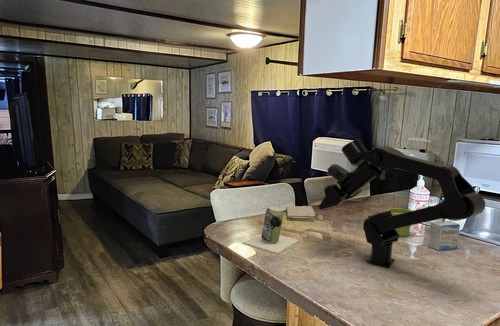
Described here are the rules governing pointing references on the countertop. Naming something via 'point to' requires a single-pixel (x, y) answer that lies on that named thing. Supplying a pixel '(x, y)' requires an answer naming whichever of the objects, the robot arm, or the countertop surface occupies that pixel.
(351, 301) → the countertop surface
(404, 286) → the countertop surface
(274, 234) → the beverage can
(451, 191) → the robot arm
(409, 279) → the countertop surface
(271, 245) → the cream mat
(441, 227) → the medicine box
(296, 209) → the washcloth
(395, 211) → the plant pot
